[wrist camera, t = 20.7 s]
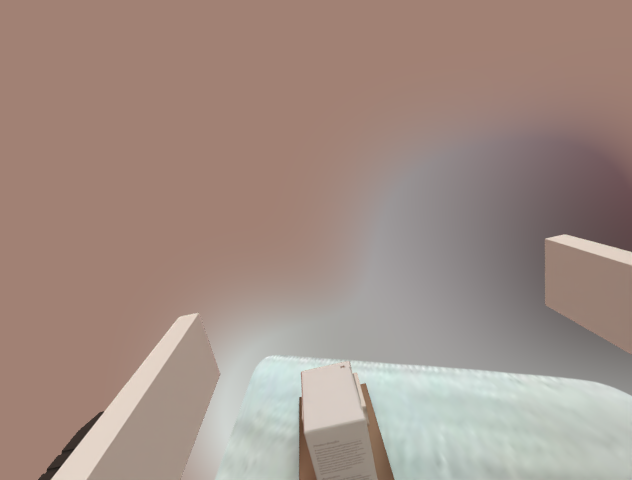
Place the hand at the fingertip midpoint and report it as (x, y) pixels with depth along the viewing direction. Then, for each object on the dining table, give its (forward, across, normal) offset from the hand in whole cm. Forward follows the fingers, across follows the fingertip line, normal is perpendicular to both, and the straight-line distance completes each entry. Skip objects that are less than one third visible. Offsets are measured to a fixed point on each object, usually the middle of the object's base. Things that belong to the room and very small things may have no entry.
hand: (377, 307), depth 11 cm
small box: (+14, -4, -27) cm, 30 cm away
